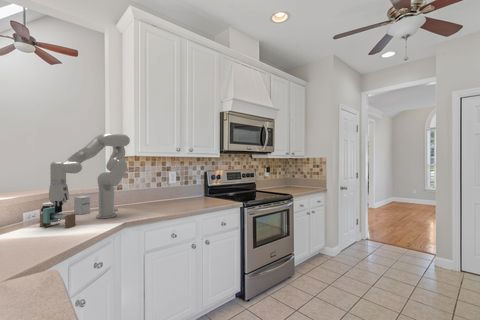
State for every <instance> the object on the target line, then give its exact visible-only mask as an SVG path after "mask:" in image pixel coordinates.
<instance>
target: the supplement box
mask: <svg viewBox="0 0 480 320" xmlns="http://www.w3.org/2000/svg"><path fill="white" fill-rule="evenodd" d="M73 200H74V202H73V204H74V205H73V207H74V208H73V209H74V211H73V213H74V214H75V215H79V216H80V215H86V214H89V213H90V212H91V196H87V195H80V196H75V197H74V199H73Z"/></svg>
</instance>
